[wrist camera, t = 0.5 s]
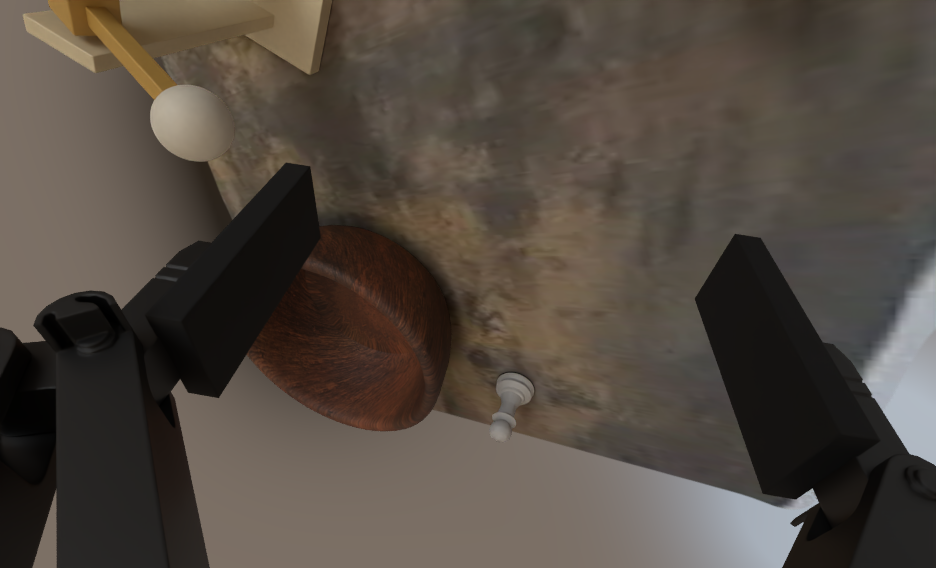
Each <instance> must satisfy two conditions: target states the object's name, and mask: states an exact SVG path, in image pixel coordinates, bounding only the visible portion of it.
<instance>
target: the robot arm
mask: <svg viewBox="0 0 936 568" xmlns="http://www.w3.org/2000/svg"><path fill="white" fill-rule="evenodd" d="M320 238H321V235H320V229H319V222H318V215H317V209H316V202H315V196H314V189H313V182H312V176H311V169H310V166H304V165H298V164H291V163H285V164H284V165H283V167H282V168H281V169H280V170H279V171H278V172H277V173H276V174H275V175H274V176H273V177H272V178H271V179H270V180H269V182H268V183H267V184H266V185H265V186H264V187H263V188H262V189H261V190H260V191H259V192H258V193H257V194H256V196H255V197H254V198H253V199H252V200H251V201H250V202H249V203H248V204H247V205H246V206H245V207H244V208H243V210H242V211H241V212H240V213H239V214H238V215H237V216H236V217H235V218H234V219H233V220H232V221H231V223H230V224H229V225H228V226H227V227H226V228H225V229H224V230H223V231H222V232H221V233H220V234H219V235H218V236H217V237H216V239H215V240H214V241H213V242H212V243H210V242H203V241H197V242H195V243H194V244H192V245H190V246H188V247H187V248H185V249H183V250H181V251H179V252H178V253H177V254H176V255H175V256H174V257H173V258H172V259H171V260H170V261H169V262H168V263H167V264H166V265H167V266H166V267H164V268H162V269H161V270H160V271H159V272H158V273H157V275H156V277H155V278H153V279H151V280H150V281H149V282H148V283H147V284H146V285H145V286H144V288H142V289H141V290H140V292H139V293H138V294H137V295H136V296H135V297H134V298H133V299H132V300H131V301H130V302H129V303H128V304H127V305H126V306H125V307H124V308H123V309H122V310H121V309H120V307H119V306H118V304H117V302H116V301H115V299H114V297H113V296H112V295H109V294H107V293H105V292H102V291H86V292H78V293H74V294H71V295H68V296H65V297H63V298H60V299H58V300H56V301H55V302H53V303H51V304H50V305H48V306H46V308H44V309H43V310H42V311H41V312H40V314H39V315H37V317H36V320H35V323H34V327H35V328H36V329H37V331H38V332H39V333H40V334H41V335H42V337H43V338H44V339H45V340H46V341H41V342H30V343H22V342H21V341H20V340H19V339H18V337H17V336H16V335H15V334H14V333H13V332H12V331H11V330H7V329H4V328H0V568H32V566H33V563H34V560H35V557H36V554H37V550H38V547H39V544H40V540H41V537H42V534H43V530H44V527H45V524H46V521H47V517H48V514H49V511H50V507H51V504H52V501H53V497H54V494H55V491H56V488H57V568H210V567H209V562H208V558H207V553H206V548H205V543H204V538H203V533H202V528H201V524H200V519H199V514H198V509H197V504H196V500H195V494H194V490H193V485H192V480H191V475H190V470H189V465H188V461H187V456H186V451H185V446H184V441H183V436H182V431H181V427H180V422H179V417H178V413H177V408H176V403H175V399H174V397H173V395H172V393H171V390H172V389H173V388H174V386H175V385H176V384H177V382H178V381H179V380H180V379H181V381H182V382H183V384H184V386H185V388H186V389H187V391H188V393H194V394H199V395H205V396H210V397H216V398H219V396H220V395H221V394H222V392H223V390H224V389H225V387H226V386H227V384H228V383H229V381H230V379H231V378H232V376H233V374H234V373H235V372H236V370H237V368H238V367H239V365H240V364H241V362H242V361H243V359H244V357H245V356H246V354H247V353H248V351H249V350H250V348H251V347H252V345H253V343H254V342H255V340H256V339H257V337H258V336H259V334H260V332H261V331H262V329H263V328H264V326H265V325H266V323H267V321H268V320H269V318H270V317H271V315H272V314H273V312H274V310H275V309H276V307H277V306H278V304H279V303H280V301H281V299H282V298H283V296H284V295H285V293H286V292H287V290H288V288H289V287H290V285H291V284H292V282H293V281H294V279H295V277H296V276H297V274H298V273H299V271H300V270H301V268H302V266H303V265H304V263H305V262H306V260H307V259H308V257H309V255H310V254H311V252H312V251H313V249H314V248H315V246H316V245H317V243H318V241H319V240H320ZM695 301H696V304H697V307H698V310H699V312H700V315H701V318H702V321H703V324H704V327H705V330H706V332H707V335H708V338H709V341H710V344H711V347H712V350H713V352H714V355H715V358H716V361H717V364H718V367H719V370H720V373H721V375H722V378H723V381H724V384H725V387H726V390H727V393H728V395H729V398H730V401H731V404H732V407H733V410H734V413H735V415H736V418H737V421H738V424H739V427H740V430H741V433H742V435H743V438H744V441H745V444H746V447H747V450H748V453H749V455H750V458H751V461H752V464H753V467H754V470H755V473H756V475H757V478H758V481H759V484H760V487H761V490H762V493H763V494H768V495H773V496H779V497H785V498H790V499H797V498H799V497H800V496H802V495H803V494H805V493H806V492H807V491H809V490H810V489H812V488H813V490H814V492H815V495H816V497H817V499H818V501H819V503H818V504H817V505H815V506H813V507H812V508H810V509H809V510H807V511H806V512H804V513H802V514H801V515H799V516H798V517H796V518H795V519H794V520H793V521H792V522H791V524H792V525H793V526H794V527H795V526H797V525H799V524H801V523H802V522H804V524H803V526H802V528H801V530H800V532H799V534H798V536H797V538H796V540H795V542H794V544H793V547H792V549H791V551H790V553H789V555H788V557H787V559H786V561H785V563H784V565H783V567H782V568H936V466H935V465H934V464H932V463H930V462H928V461H926V460H924V459H922V458H920V457H918V456H914V455H911V454H909V453H908V451H907V449H906V448H905V446H904V445H903V443H902V441H901V440H900V438H899V437H898V435H897V434H896V432H895V430H894V429H893V427H892V426H891V424H890V422H889V421H888V419H887V418H886V416H885V414H884V413H883V411H882V410H881V408H880V407H879V405H878V403H877V402H876V400H875V399H874V398H872V397H871V395H872V394H871V392H870V391H869V389H868V387H867V386H866V384H865V383H862V380H863V379H862V378H861V376H860V375H859V373H858V372H857V370H856V368H855V367H854V365H853V364H852V362H851V361H850V360H849V359H848V358H847V357H846V356H845V355H844V354H843V353H842V352H841V351H840V350H839V349H837V348H836V347H835V346H834V345H833V344H828V343H823V342H822V341H821V339H820V337H819V336H818V334H817V332H816V331H815V329H814V327H813V326H812V324H811V322H810V320H809V319H808V317H807V315H806V314H805V312H804V310H803V309H802V307H801V305H800V304H799V302H798V300H797V299H796V297H795V295H794V293H793V292H792V290H791V288H790V287H789V285H788V283H787V282H786V280H785V278H784V277H783V275H782V273H781V272H780V270H779V268H778V267H777V265H776V263H775V261H774V260H773V258H772V256H771V255H770V253H769V251H768V250H767V248H766V246H765V245H764V243H763V241H762V240H761V238H758V237H751V236H745V235H739V234H735V235H734V236H733V238H732V240H731V241H730V243H729V244H728V246H727V248H726V249H725V251H724V252H723V254H722V256H721V257H720V259H719V260H718V262H717V264H716V265H715V267H714V269H713V270H712V272H711V273H710V275H709V277H708V278H707V280H706V281H705V283H704V285H703V286H702V288H701V290H700V291H699V293H698V294H697V296H696V298H695Z"/></svg>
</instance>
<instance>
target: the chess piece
mask: <svg viewBox="0 0 936 568" xmlns="http://www.w3.org/2000/svg"><path fill="white" fill-rule="evenodd" d="M496 391H497V394H498V395H499V396H500V397H501V402H502V404H501V406H500V409H499V411H498V412H497V413H494V414H493V416H492V419H493V421H494V422H493V423H492V424H491V426H490V429H489V432H490V436H491V437H492V438H493V439H494V440H495V441H498V442H506V441H507V440H508V439H509V438H510V437H511V433H512V429H511V428H513V427H515V426H516V421H515V419H514V415H515V411H516V409H517V408H518V406H519V405H524V404H527V403H528V402H529V401H530V400H531V397H532V396H533V394H534V387H533V385H532V383H531V382H530V381H529V380H528V379H527V378H526V377H524V376H522V375H520V374H517V373H505V374H503V375H501V376H500V377H499V378H498V379H497V386H496Z"/></svg>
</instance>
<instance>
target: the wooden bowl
mask: <svg viewBox="0 0 936 568" xmlns="http://www.w3.org/2000/svg"><path fill="white" fill-rule="evenodd" d="M319 229H320V235H321V238H320V240H319V241H318V243H317V245H316V246H315V248H314V249H313V251H312V252H311V254H310V255H309V257H308V259H307V260H306V262H305V263H304V265H303V266H302V268H301V270H300V271H299V273H298V274H297V276H296V277H295V279H294V281H293V282H292V284H291V285H290V287H289V288H288V290H287V292H286V293H285V295H284V296H283V298H282V299H281V301H280V303H279V304H278V306H277V307H276V309H275V310H274V312H273V314H272V315H271V317H270V318H269V320H268V321H267V323H266V325H265V326H264V328H263V329H262V331H261V332H260V334H259V336H258V337H257V339H256V340H255V342H254V343H253V345H252V347H251V348H250V350H249V351H248V353H247V356H248V357H249V358H250V359H251V360H252V361H253V363H254V364H255V365H256V366H257V367H258V368H259V369H260V371H262V372H263V373H264V374H265V376H266V377H268V378H269V379H270V380H271V381H272V382H273V383H274V384H275V385H277V386H278V387H279V388H280V389H282V390H283V391H284V392H285V393H287V394H288V395H289V396H291V397H292V398H294V399H295V400H297V401H298V402H300V403H301V404H303V405H305V406H306V407H308V408H310V409H311V410H313V411H315V412H317V413H319V414H321V415H323V416H325V417H328V418H330V419H332V420H335V421H337V422H340V423H343V424H346V425H349V426H352V427H356V428H361V429H365V430H372V431H397V430H402V429H406V428H409V427H412V426H414V425H416V424H418V423H419V422H421V421H422V420H423V419H424V418H425V417H426V416H427V415H428V414H429V413H430V412H431V410H432V409H433V407H434V405H435V403H436V401H437V398H438V396H439V393H440V390H441V387H442V384H443V380H444V377H445V374H446V370H447V366H448V362H449V357H450V350H451V323H450V316H449V312H448V308H447V305H446V302H445V299H444V296H443V294H442V292H441V290H440V288H439V287H438V285H437V283H436V281H435V280H434V279H433V277H432V276H431V274H430V273H429V272H428V271H427V270H426V268H425V267H424V266H423V265H422V264H421V263H420V262H419V261H418V260H417V259H416V258H415V257H414V256H412V255H411V254H410V253H409V252H407V251H406V250H405V249H404V248H402V247H401V246H399V245H398V244H396V243H395V242H393V241H391V240H389V239H388V238H386V237H383V236H381V235H379V234H377V233H374V232H372V231H369V230H365V229H362V228H357V227H352V226H341V225H328V226H319Z"/></svg>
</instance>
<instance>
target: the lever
mask: <svg viewBox="0 0 936 568" xmlns="http://www.w3.org/2000/svg"><path fill="white" fill-rule="evenodd" d="M48 3H49V7H50V8H51V10H52V11H53V12H54V13H55V14H56V15H57V16H58V18H59V19H60V20H61V21H62V22H63V23H64V24H65V26H66V27H67V28H68V29H69V30H70V31H71V32H72V34H73V35H76V36H98V38H99V39H100V40H101V41H102V42H103V43H104V44H105V45H106V47H107V48H108V49H109V50H110V51H111V52H112V53H113V54H114V56H115V57H116V58H117V59H118V60H119V61H120V62H121V63H122V64H123V66H124V67H125V68H126V69H127V70H128V71H129V72H130V73H131V74H132V76H133V77H134V78H135V79H136V80H137V81H138V82H139V84H140V85H141V86H142V87H143V88H144V89H145V90H146V91H147V92H148V94H149V95H150V96H151V97H152V98H153V99H154V102H153V105H152V107H151V112H150V121H151V126H152V129H153V131H154V133H155V135H156V137H157V139H158V140H159V141H160V142H161V144H162V145H163V146H164V147H165V148H166V149H167V150H169V151H170V152H172V153H173V154H175V155H177V156H179V157H181V158H183V159H187V160H191V161H209V160H213V159H215V158H218V157H220V156H221V155H223V154H224V153H225V152H226V151H227V150H228V149H229V148H230V146H231V144H232V142H233V140H234V136H235V124H234V120H233V117H232V114H231V112H230V110H229V109H228V107H227V106H226V104H225V103H224V102H223V101H222V100H221V99H220V98H219V97H218V96H216V95H215V94H214V93H212V92H210V91H208V90H206V89H204V88H202V87H198V86H194V85H177V84H176V83H175V82H174V81H173V80H172V79H171V78H170V76H169V75H168V74H167V73H166V72H165V71H164V70H163V69H162V68H161V67H160V66H159V65H158V63H157V62H156V61H155V60H154V59H153V58H152V57H151V56H150V55H149V54H148V53H147V52H146V50H145V49H144V48H143V47H142V46H141V45H140V44H139V43H138V42H137V41H136V40H135V39H134V37H133V36H132V35H131V34H130V33H129V32H128V31H127V30H126V29H125V28H124V27H123V26H122V19H121V11H120V2H119V0H48Z"/></svg>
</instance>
